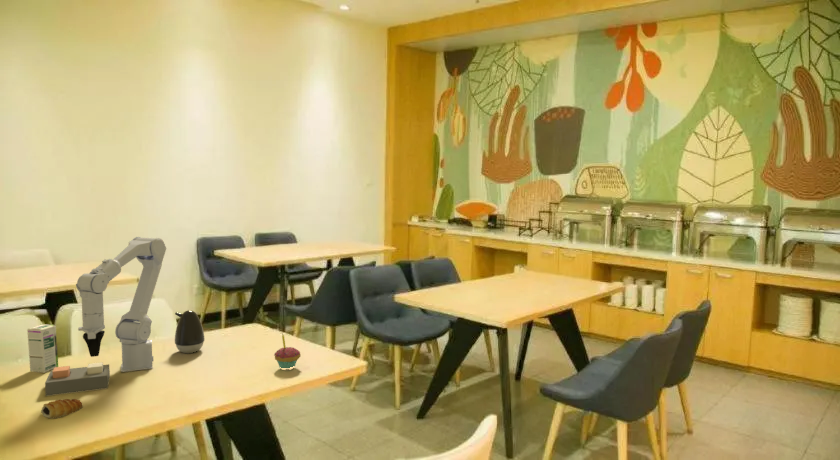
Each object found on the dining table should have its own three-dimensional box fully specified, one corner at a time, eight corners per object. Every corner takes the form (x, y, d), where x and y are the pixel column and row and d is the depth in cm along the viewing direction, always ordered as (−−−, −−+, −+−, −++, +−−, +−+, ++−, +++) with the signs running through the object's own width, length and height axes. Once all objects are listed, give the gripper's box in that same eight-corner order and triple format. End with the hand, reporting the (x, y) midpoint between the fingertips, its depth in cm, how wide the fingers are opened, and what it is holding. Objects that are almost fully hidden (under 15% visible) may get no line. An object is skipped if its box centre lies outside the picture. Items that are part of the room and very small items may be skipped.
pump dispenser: (183, 346, 221) (182, 306, 219) (209, 347, 219) (209, 307, 218) (168, 354, 211) (167, 313, 209) (195, 356, 209) (194, 314, 208)
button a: (103, 373, 184) (103, 362, 184) (102, 377, 180) (102, 366, 180) (88, 374, 182) (88, 363, 182) (87, 378, 179) (87, 367, 178)
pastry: (75, 404, 166) (74, 391, 166) (87, 410, 163) (87, 396, 162) (39, 415, 158) (38, 402, 158) (51, 422, 155) (50, 408, 154)
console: (109, 376, 188) (109, 364, 187) (107, 388, 178) (107, 375, 178) (51, 383, 181) (50, 370, 181) (45, 396, 171) (45, 382, 171)
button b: (70, 376, 180) (69, 365, 180) (68, 381, 176) (68, 369, 176) (55, 378, 178) (54, 367, 178) (53, 383, 175) (52, 371, 174)
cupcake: (269, 370, 196) (269, 335, 195) (284, 362, 204) (284, 329, 203) (291, 374, 193) (290, 338, 192) (305, 366, 201) (305, 332, 199)
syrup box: (44, 373, 190) (42, 329, 189) (29, 371, 191) (26, 328, 190) (58, 367, 196) (56, 324, 194) (43, 365, 197) (41, 323, 195)
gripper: (80, 308, 184) (82, 350, 185) (75, 319, 171) (77, 364, 172) (105, 306, 187) (107, 348, 188) (102, 317, 174) (104, 361, 175)
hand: (94, 355), depth 181 cm, fingers closed
